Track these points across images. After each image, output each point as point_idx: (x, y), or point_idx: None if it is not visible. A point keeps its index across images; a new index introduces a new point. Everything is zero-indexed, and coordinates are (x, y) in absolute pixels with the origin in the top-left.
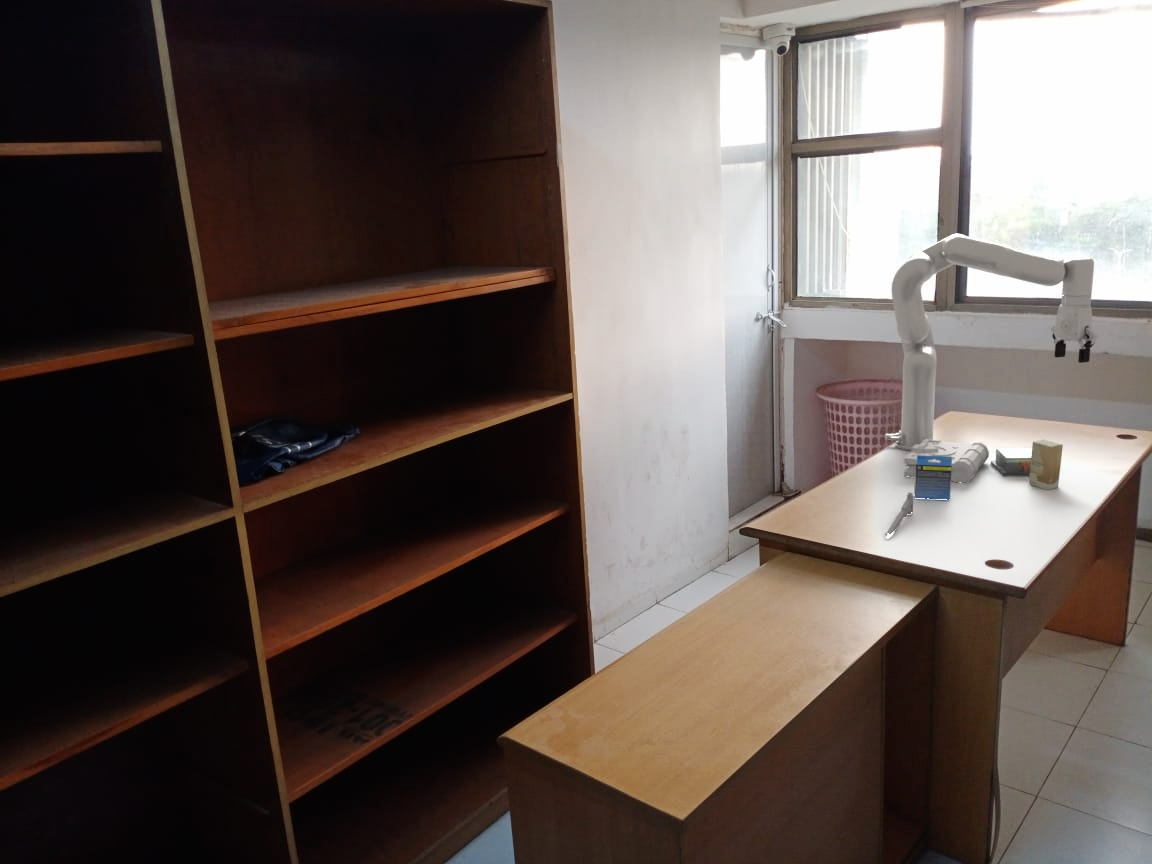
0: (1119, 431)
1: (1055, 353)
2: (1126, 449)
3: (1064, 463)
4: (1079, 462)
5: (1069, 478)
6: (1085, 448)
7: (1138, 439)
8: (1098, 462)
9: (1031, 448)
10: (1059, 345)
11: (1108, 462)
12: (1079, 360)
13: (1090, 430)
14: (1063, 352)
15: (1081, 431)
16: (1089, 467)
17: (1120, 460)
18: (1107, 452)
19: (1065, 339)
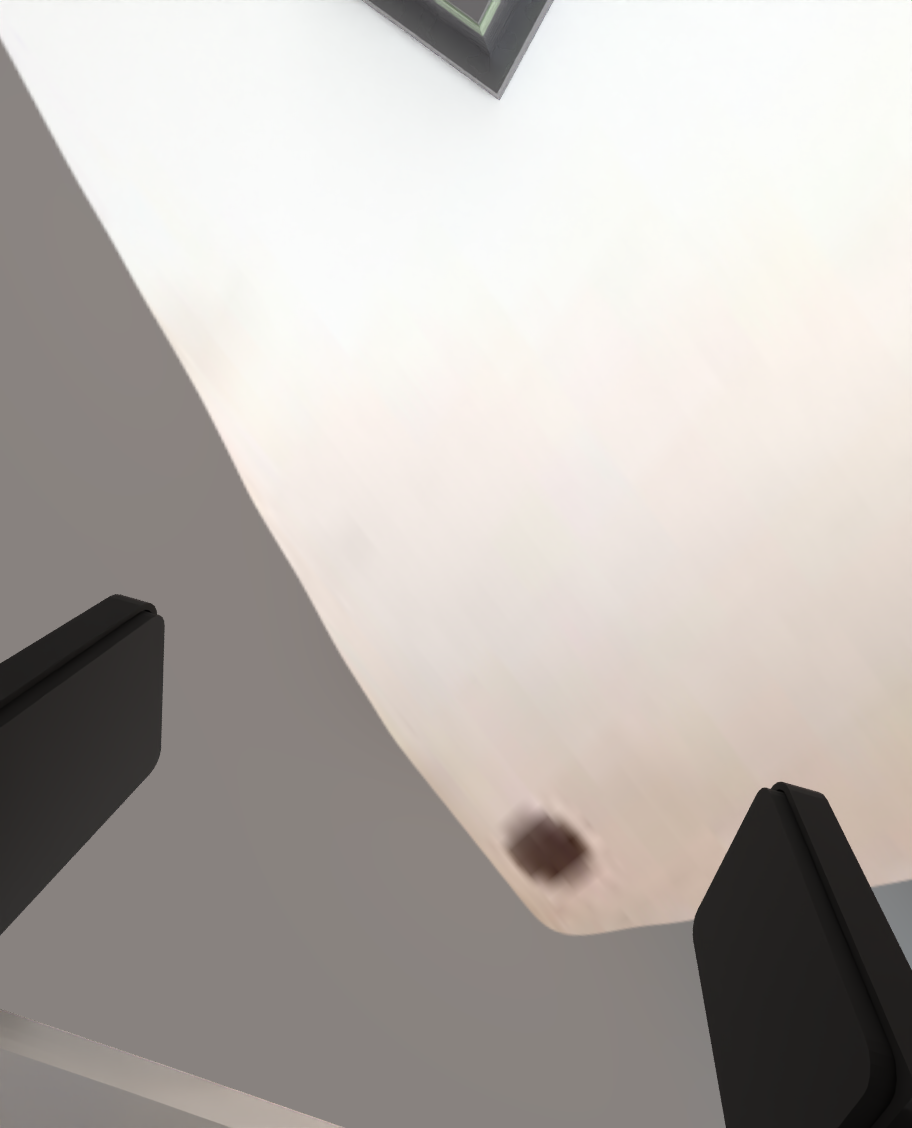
0: (618, 904)
1: (821, 837)
2: (421, 691)
3: (413, 263)
4: (386, 346)
5: (205, 26)
6: (534, 585)
7: (493, 845)
8: (342, 421)
9: (476, 2)
10: (832, 1090)
11: (320, 458)
12: (100, 606)
13: (713, 854)
14: (720, 970)
15: (732, 818)
16: (303, 309)
17: (318, 526)
18: (433, 597)
19: (217, 1120)
